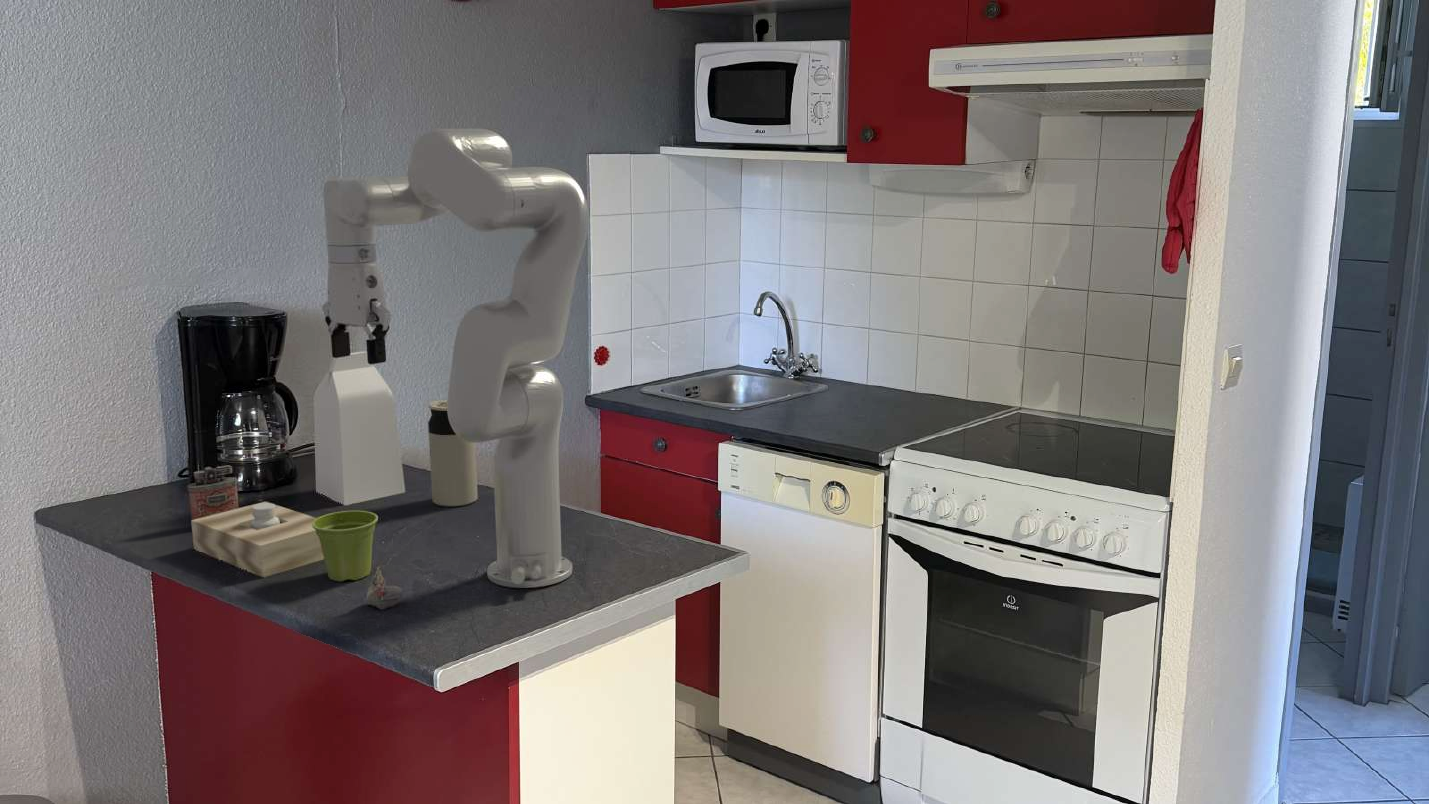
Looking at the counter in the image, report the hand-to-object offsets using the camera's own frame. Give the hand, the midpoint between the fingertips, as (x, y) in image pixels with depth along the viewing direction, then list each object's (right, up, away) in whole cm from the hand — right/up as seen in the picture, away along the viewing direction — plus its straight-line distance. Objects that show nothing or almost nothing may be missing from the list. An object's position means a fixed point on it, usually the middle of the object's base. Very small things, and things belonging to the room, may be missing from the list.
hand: (359, 359), depth 203 cm
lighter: (-26, -28, +6) cm, 39 cm away
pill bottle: (-12, -31, -8) cm, 34 cm away
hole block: (-12, -31, -8) cm, 34 cm away
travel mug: (+12, -25, +19) cm, 34 cm away
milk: (-7, -24, +25) cm, 35 cm away
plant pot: (+4, -33, -18) cm, 38 cm away
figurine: (+12, -36, -30) cm, 48 cm away
